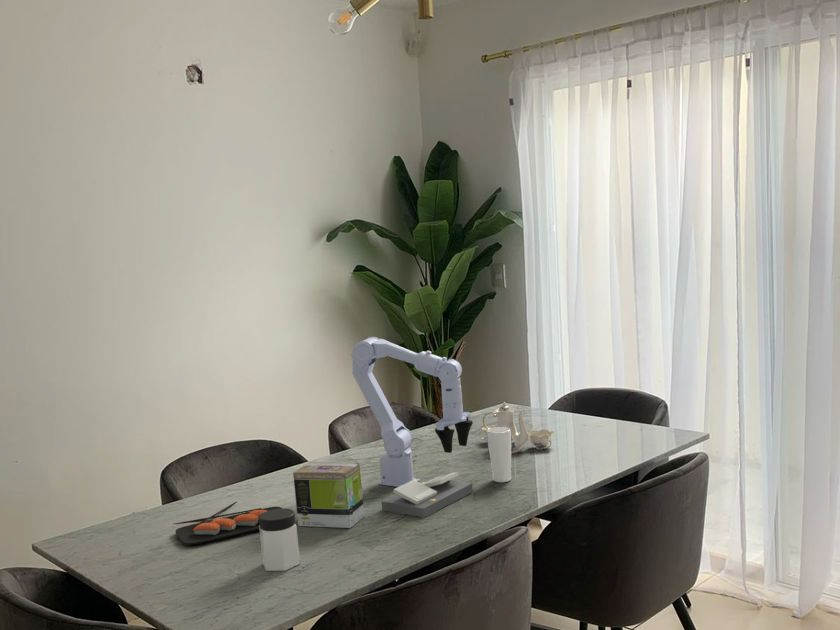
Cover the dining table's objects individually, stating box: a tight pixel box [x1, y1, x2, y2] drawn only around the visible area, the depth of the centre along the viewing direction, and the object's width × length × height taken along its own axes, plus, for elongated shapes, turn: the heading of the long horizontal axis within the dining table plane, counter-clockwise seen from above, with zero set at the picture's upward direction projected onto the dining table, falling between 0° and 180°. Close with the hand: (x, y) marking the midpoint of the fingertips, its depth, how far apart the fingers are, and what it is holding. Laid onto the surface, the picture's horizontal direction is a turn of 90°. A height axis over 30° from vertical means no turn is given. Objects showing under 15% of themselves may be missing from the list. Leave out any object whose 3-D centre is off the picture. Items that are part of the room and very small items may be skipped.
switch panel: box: [381, 477, 474, 519], centre depth 237 cm, size 14×23×3 cm, turn 144°
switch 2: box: [423, 471, 460, 487], centre depth 241 cm, size 8×9×1 cm
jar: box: [259, 508, 301, 572], centre depth 199 cm, size 9×8×12 cm
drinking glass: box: [487, 427, 512, 483], centre depth 250 cm, size 7×7×15 cm
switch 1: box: [393, 480, 437, 505], centre depth 232 cm, size 8×9×1 cm
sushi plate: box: [173, 501, 284, 546], centre depth 233 cm, size 29×30×4 cm
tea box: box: [292, 462, 365, 529], centre depth 226 cm, size 15×10×15 cm, turn 71°
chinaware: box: [478, 401, 555, 455], centre depth 284 cm, size 28×17×17 cm, turn 58°
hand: (455, 448), depth 249 cm, fingers open, 7 cm apart
